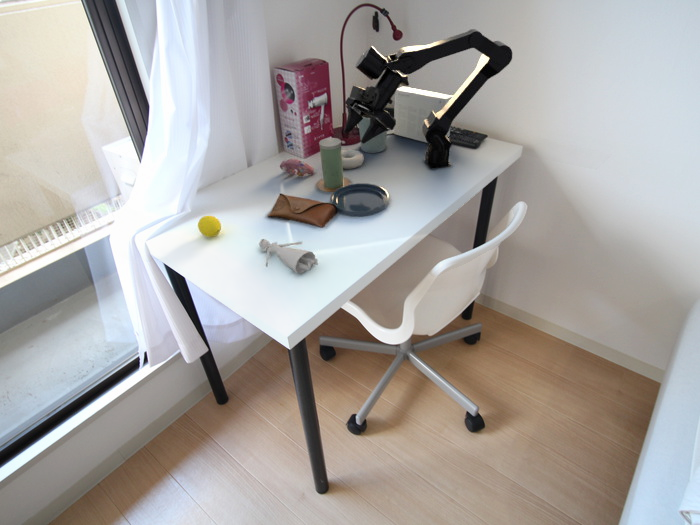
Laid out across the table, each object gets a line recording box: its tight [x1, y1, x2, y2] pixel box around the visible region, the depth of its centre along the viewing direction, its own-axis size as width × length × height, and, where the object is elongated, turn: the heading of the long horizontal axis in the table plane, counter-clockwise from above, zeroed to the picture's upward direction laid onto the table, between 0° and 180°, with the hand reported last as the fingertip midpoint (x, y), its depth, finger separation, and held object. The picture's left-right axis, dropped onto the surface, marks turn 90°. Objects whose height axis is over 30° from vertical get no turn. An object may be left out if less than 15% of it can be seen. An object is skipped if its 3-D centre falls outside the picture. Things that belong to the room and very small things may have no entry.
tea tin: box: [318, 137, 345, 188], centre depth 125 cm, size 6×6×13 cm
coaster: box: [316, 176, 351, 193], centre depth 129 cm, size 10×10×1 cm
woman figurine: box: [258, 238, 319, 275], centre depth 100 cm, size 12×4×18 cm
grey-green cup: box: [358, 114, 388, 154], centre depth 146 cm, size 10×10×12 cm
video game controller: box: [279, 158, 315, 177], centre depth 134 cm, size 10×5×7 cm, turn 68°
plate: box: [329, 182, 390, 218], centre depth 119 cm, size 16×16×2 cm
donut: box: [341, 149, 365, 170], centre depth 140 cm, size 10×4×10 cm
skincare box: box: [393, 86, 454, 144], centre depth 149 cm, size 21×6×16 cm, turn 46°
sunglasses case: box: [267, 193, 338, 229], centre depth 115 cm, size 18×7×7 cm, turn 66°
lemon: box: [197, 215, 222, 238], centre depth 109 cm, size 7×5×5 cm
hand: (353, 138), depth 124 cm, fingers open, 9 cm apart
